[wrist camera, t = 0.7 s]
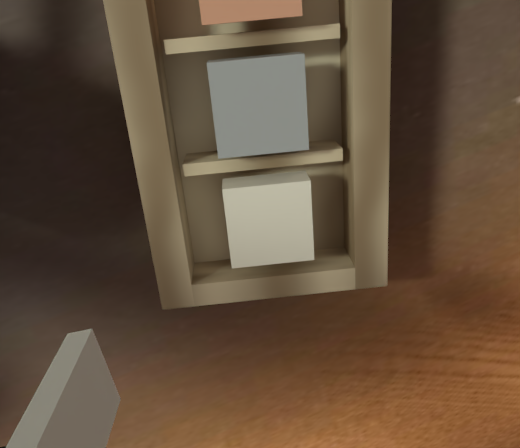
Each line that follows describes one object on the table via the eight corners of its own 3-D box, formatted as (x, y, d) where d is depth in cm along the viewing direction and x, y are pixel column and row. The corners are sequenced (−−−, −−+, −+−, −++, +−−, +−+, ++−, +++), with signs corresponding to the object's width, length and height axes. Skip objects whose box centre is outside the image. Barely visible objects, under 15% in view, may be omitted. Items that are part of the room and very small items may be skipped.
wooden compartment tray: (170, 275, 34) (162, 309, 30) (69, -293, 22) (32, -367, 18) (368, 254, 34) (387, 286, 30) (367, -316, 23) (397, -394, 19)
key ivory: (231, 253, 30) (231, 268, 28) (222, 178, 28) (222, 189, 26) (309, 245, 30) (314, 259, 28) (305, 170, 28) (310, 180, 26)
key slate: (219, 149, 27) (218, 158, 25) (208, 60, 25) (206, 62, 23) (303, 141, 27) (308, 149, 25) (299, 51, 25) (304, 53, 24)
